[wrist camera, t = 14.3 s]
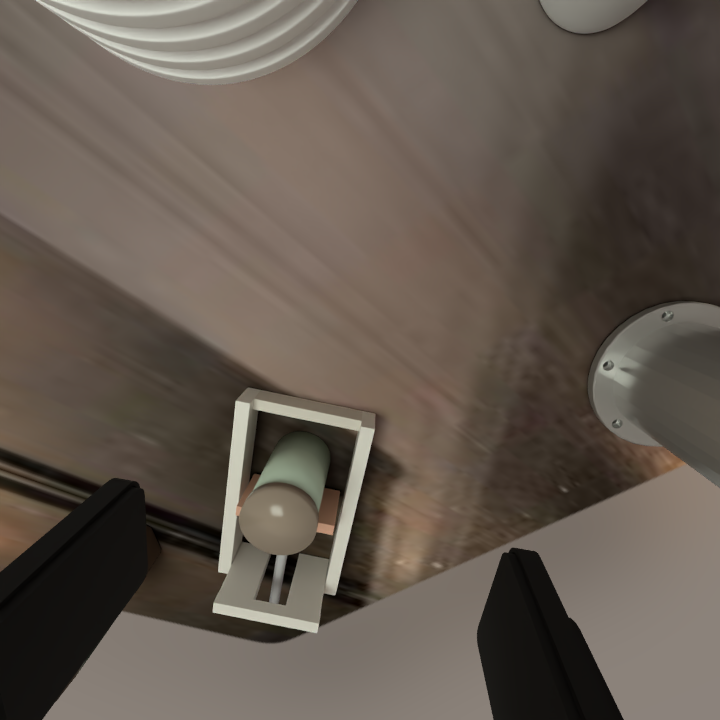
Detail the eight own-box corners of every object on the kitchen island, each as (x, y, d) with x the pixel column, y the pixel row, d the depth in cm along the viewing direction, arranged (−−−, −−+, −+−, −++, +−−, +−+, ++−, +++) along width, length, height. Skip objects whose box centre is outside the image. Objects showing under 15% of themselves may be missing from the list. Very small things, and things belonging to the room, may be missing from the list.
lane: (375, 413, 34) (374, 455, 28) (338, 570, 40) (330, 635, 33) (248, 387, 34) (215, 422, 27) (229, 548, 40) (199, 609, 33)
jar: (336, 436, 35) (322, 499, 27) (326, 487, 37) (310, 561, 28) (276, 424, 35) (242, 483, 27) (269, 475, 37) (235, 547, 28)
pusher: (340, 491, 37) (334, 525, 32) (318, 588, 41) (310, 632, 36) (254, 473, 37) (236, 506, 32) (241, 573, 41) (223, 614, 36)
